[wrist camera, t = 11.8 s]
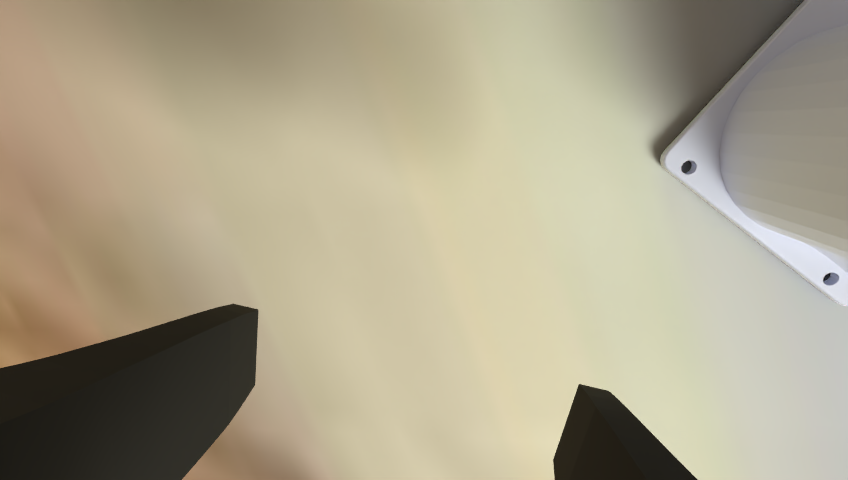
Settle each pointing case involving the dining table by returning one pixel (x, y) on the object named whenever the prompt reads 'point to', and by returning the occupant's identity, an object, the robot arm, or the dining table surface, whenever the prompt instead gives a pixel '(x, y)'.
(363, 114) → the dining table surface
